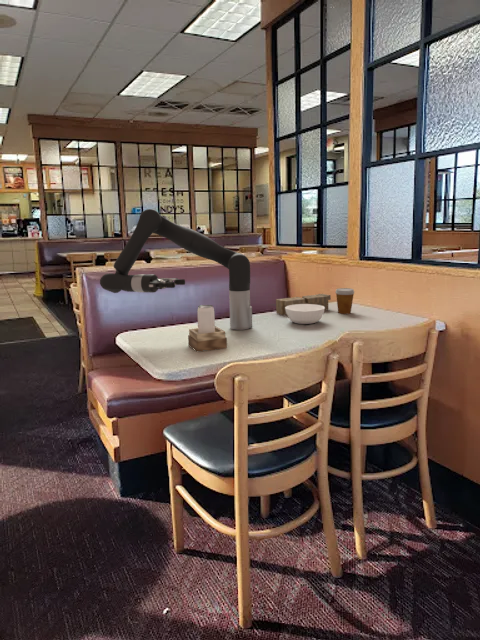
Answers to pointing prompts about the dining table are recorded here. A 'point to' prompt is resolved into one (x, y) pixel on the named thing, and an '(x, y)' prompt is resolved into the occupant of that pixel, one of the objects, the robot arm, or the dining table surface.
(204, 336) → the square wooden tray
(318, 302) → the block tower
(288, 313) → the bowl
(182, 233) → the robot arm
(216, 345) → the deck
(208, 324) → the can
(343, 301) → the disposable coffee cup
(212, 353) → the dining table surface
